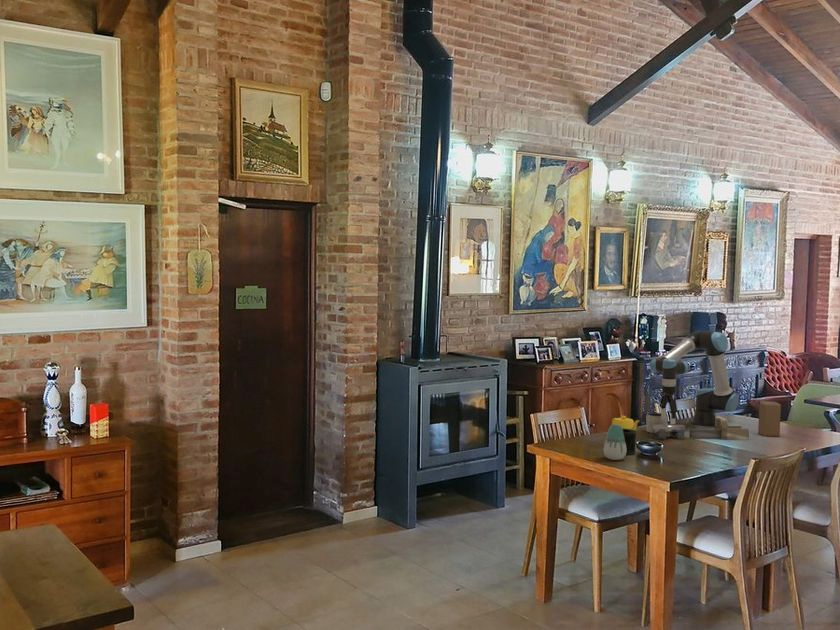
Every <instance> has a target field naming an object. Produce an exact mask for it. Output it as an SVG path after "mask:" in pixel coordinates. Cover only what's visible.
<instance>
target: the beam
mask: <svg viewBox="0 0 840 630" xmlns="http://www.w3.org/2000/svg"><path fill="white" fill-rule="evenodd" d="M749 436H750V431H749V428H742V426H741V425H728V419H727V418H724V417H723V416H715V426H714V429H689V435H688V437H690V439H692V438H693V439H694V440H695V439H696V440H699V439H700V440H703V439H704V440H713V439H714V440H718V439H719V440H722V441H725V440H727V441H729V440H730V441H732V440H734V441H747V440H750V437H749Z"/></svg>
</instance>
